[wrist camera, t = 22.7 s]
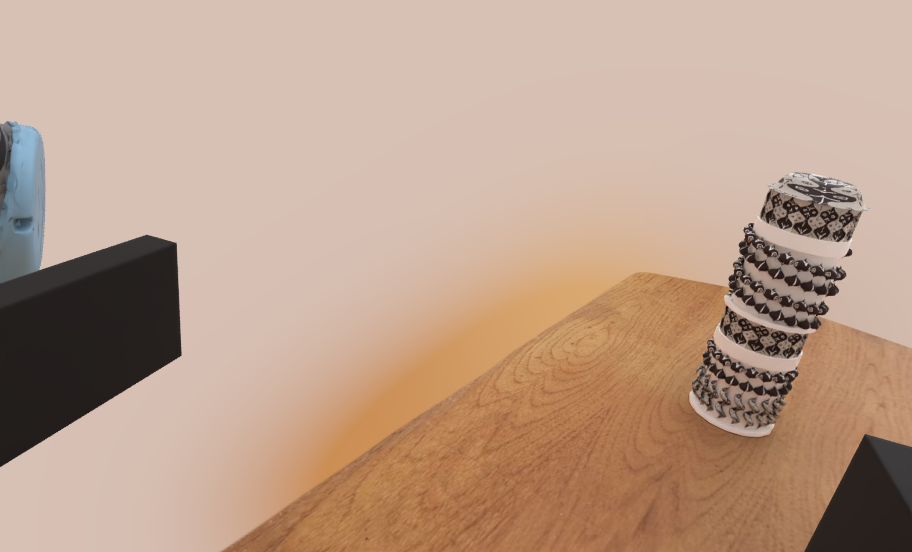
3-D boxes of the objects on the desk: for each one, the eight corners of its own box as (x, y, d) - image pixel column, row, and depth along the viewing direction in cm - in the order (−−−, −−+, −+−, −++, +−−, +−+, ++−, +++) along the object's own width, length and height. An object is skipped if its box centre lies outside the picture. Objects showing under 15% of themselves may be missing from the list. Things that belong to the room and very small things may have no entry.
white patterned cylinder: (691, 376, 66) (768, 161, 56) (778, 408, 62) (877, 184, 52) (677, 413, 58) (763, 172, 49) (775, 452, 55) (890, 200, 45)
